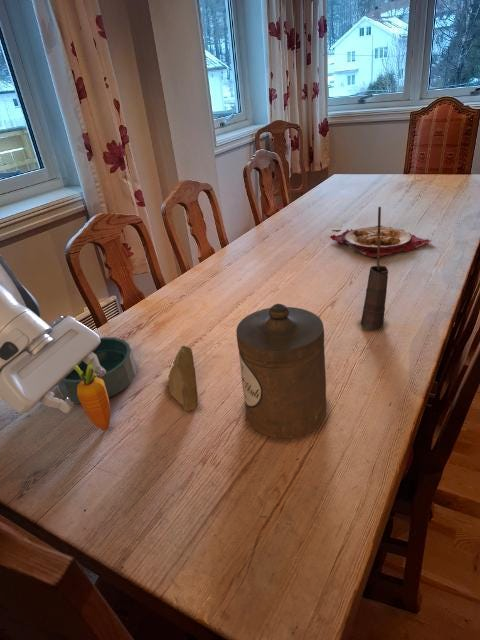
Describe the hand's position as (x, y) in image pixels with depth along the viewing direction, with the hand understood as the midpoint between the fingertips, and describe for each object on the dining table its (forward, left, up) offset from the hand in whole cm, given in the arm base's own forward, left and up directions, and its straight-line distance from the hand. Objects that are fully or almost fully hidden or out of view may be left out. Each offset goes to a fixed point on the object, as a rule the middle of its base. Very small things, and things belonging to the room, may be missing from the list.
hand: (87, 391), depth 76 cm
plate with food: (+102, +48, -9) cm, 112 cm away
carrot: (+1, 0, -9) cm, 9 cm away
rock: (+17, +2, -9) cm, 19 cm away
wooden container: (+33, -12, -9) cm, 36 cm away
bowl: (+2, +17, -9) cm, 19 cm away
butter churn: (+65, +3, -9) cm, 65 cm away
